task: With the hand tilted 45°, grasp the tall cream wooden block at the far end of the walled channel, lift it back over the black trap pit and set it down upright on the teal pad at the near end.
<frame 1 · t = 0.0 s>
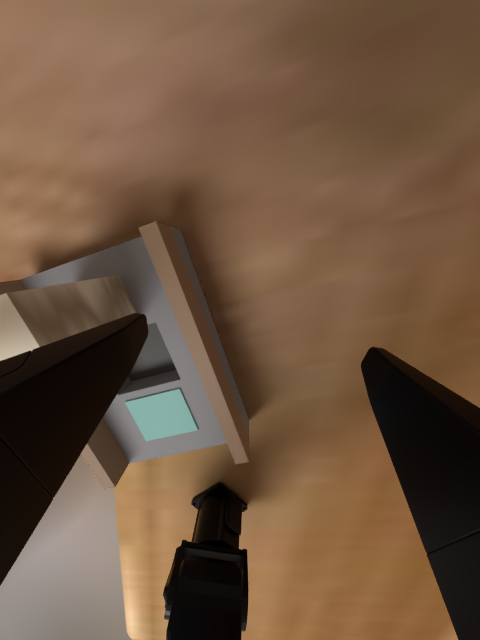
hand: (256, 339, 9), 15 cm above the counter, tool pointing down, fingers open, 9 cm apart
block: (108, 305, 22), point 3 cm above the counter, touching channel
channel: (151, 356, 27), on the counter
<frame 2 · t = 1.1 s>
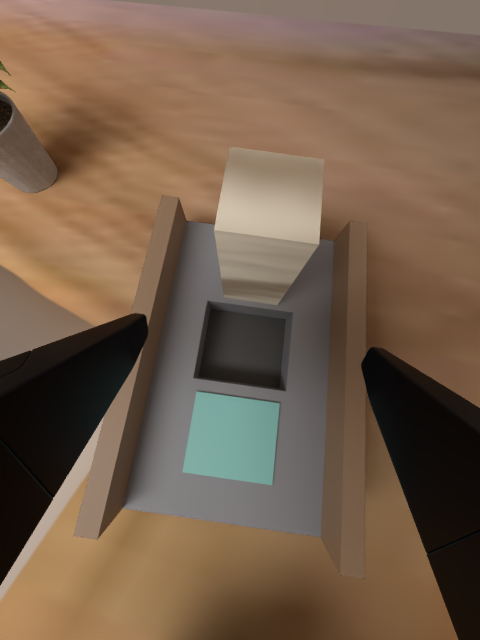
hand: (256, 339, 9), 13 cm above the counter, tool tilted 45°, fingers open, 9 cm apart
block: (254, 276, 20), point 3 cm above the counter, touching channel
house plant: (47, 171, 26), on the counter
channel: (242, 357, 22), on the counter
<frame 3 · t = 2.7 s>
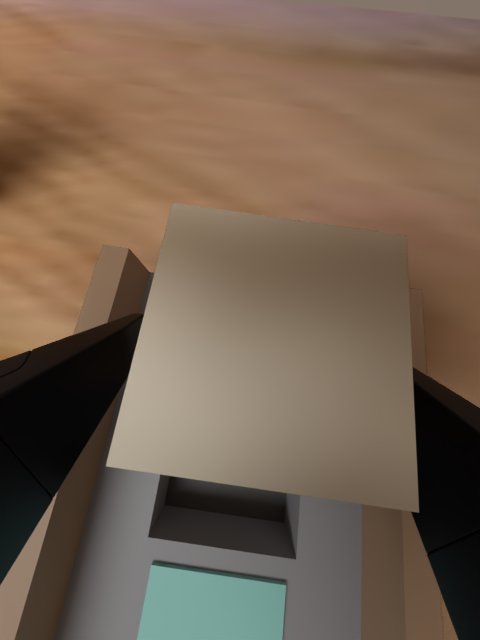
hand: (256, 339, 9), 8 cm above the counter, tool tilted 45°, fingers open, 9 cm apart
block: (246, 359, 14), point 3 cm above the counter, touching channel
channel: (229, 470, 15), on the counter
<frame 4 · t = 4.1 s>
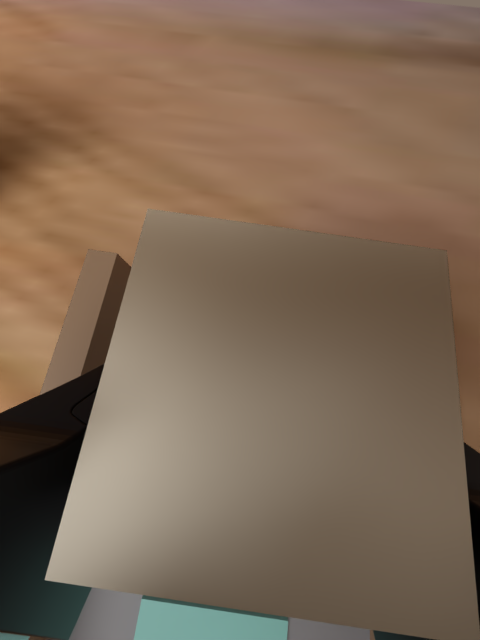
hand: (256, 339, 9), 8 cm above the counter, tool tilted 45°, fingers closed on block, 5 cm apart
block: (245, 372, 13), point 3 cm above the counter, touching channel, gripper
channel: (227, 488, 14), on the counter
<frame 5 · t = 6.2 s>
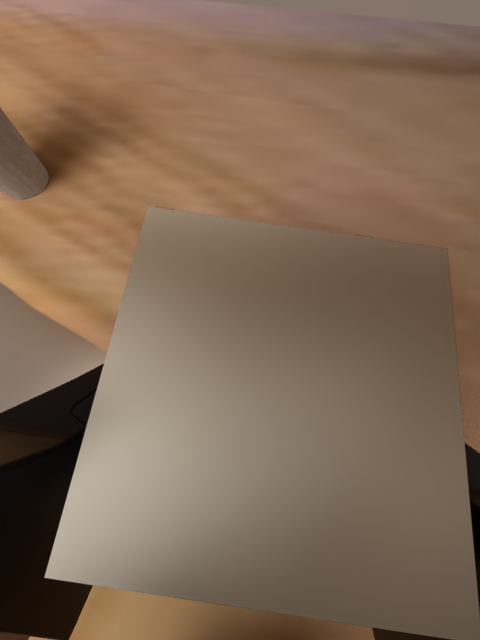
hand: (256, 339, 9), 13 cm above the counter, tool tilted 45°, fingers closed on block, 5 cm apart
block: (245, 371, 13), point 8 cm above the counter, touching gripper
house plant: (38, 176, 25), on the counter
when the fingers open (9 cm above the counter, at t = 8.7 s): block drops 1 cm, resting on channel.
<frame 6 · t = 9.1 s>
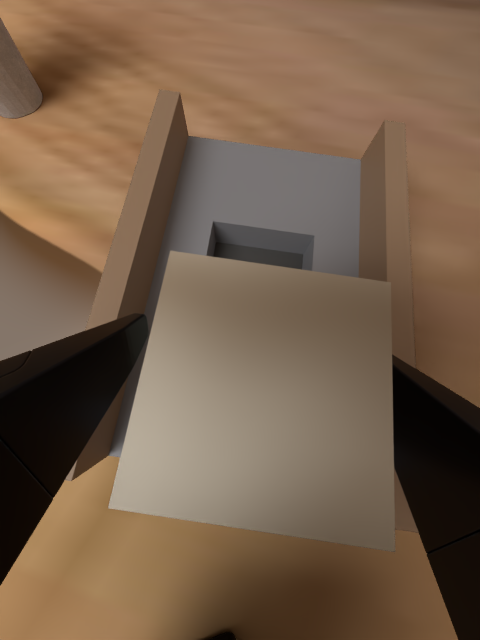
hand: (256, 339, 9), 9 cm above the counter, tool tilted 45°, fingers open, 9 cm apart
block: (244, 372, 14), point 3 cm above the counter, touching channel
house plant: (31, 97, 23), on the counter
channel: (253, 295, 19), on the counter
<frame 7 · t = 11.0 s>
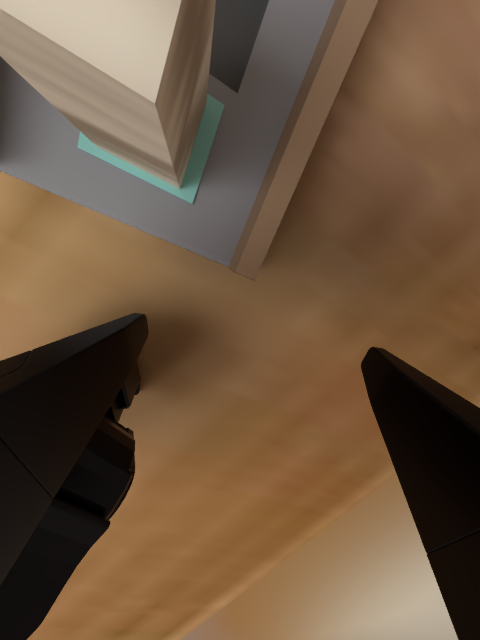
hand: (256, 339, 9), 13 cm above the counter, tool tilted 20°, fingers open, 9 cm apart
block: (152, 125, 13), point 3 cm above the counter, touching channel
channel: (189, 39, 14), on the counter
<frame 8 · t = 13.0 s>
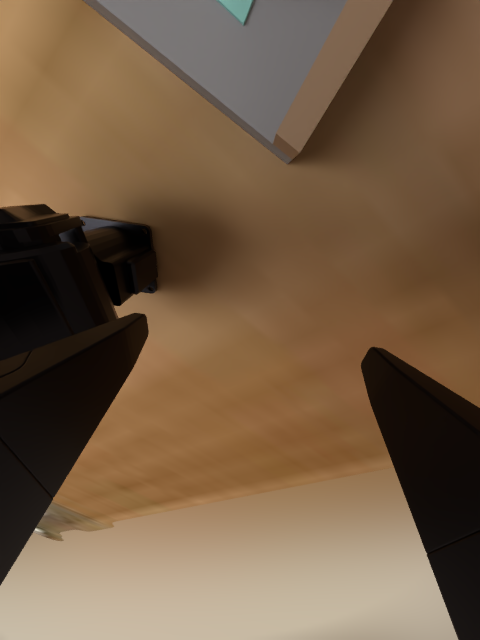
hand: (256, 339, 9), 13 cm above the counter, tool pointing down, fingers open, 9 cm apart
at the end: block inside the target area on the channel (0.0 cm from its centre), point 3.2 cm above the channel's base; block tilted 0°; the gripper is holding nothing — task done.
